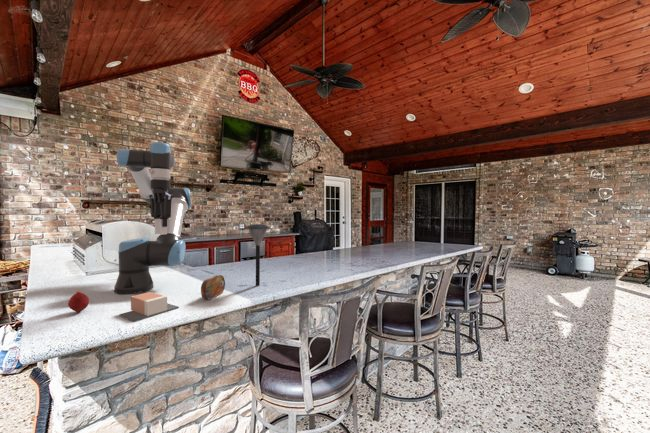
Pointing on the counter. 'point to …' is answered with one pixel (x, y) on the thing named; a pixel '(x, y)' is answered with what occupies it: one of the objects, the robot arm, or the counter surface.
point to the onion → (78, 302)
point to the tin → (212, 287)
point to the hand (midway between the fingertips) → (160, 234)
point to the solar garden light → (257, 244)
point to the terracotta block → (148, 303)
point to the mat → (138, 316)
